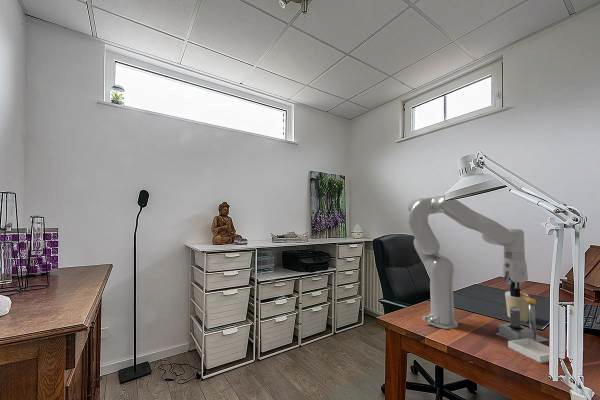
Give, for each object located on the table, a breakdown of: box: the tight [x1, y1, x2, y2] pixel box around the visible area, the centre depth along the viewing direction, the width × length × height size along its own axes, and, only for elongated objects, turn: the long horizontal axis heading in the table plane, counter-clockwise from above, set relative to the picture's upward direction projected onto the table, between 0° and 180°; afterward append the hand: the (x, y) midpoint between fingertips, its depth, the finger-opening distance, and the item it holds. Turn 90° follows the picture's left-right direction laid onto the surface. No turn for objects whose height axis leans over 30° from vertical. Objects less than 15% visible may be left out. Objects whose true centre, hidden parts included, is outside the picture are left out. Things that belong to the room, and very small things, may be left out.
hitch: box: [494, 303, 550, 343], centre depth 110 cm, size 16×10×14 cm, turn 103°
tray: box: [507, 338, 550, 364], centre depth 97 cm, size 10×11×3 cm
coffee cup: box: [504, 290, 530, 323], centre depth 130 cm, size 9×9×12 cm
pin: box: [509, 306, 522, 330], centre depth 109 cm, size 3×3×12 cm
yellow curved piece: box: [520, 291, 537, 305], centre depth 117 cm, size 14×3×2 cm, turn 160°
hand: (515, 296), depth 121 cm, fingers closed
